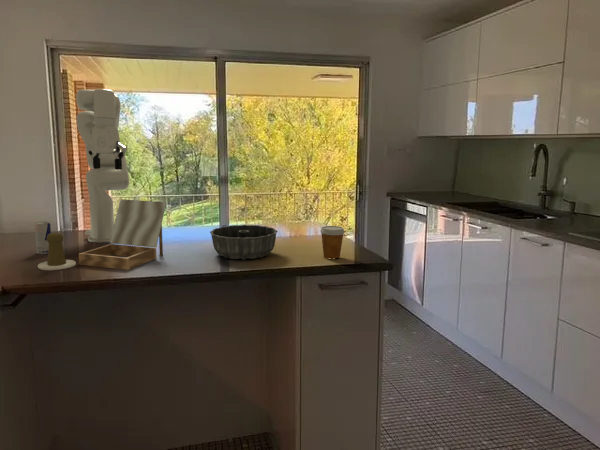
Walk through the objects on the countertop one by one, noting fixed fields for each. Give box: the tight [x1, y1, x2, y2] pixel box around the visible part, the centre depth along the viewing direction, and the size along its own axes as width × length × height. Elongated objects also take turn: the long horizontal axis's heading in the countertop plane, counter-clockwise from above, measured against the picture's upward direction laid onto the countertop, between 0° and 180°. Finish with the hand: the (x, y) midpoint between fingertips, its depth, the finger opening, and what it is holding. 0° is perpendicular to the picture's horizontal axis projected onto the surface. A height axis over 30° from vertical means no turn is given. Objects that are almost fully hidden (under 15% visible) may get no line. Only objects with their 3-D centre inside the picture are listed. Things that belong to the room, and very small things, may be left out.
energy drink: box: [34, 221, 52, 255], centre depth 189 cm, size 5×5×12 cm
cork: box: [47, 232, 67, 266], centre depth 170 cm, size 6×6×11 cm
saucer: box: [37, 259, 76, 271], centre depth 171 cm, size 12×12×1 cm
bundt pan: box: [209, 224, 278, 261], centre depth 192 cm, size 26×26×10 cm
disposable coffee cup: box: [320, 225, 345, 260], centre depth 190 cm, size 10×10×12 cm
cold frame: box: [78, 198, 167, 271], centre depth 181 cm, size 20×25×21 cm
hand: (107, 168), depth 184 cm, fingers open, 9 cm apart
